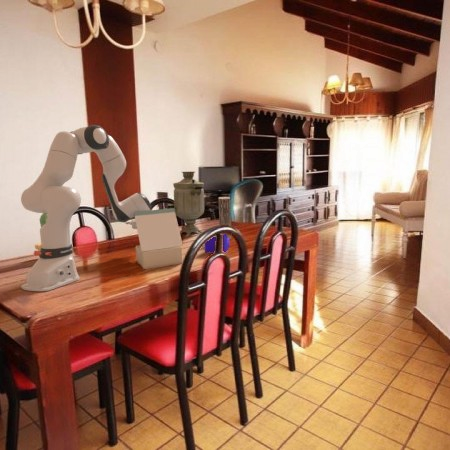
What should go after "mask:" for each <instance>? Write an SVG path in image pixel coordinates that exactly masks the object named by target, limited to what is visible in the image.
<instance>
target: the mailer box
mask: <svg viewBox="0 0 450 450" xmlns="http://www.w3.org/2000/svg"><path fill="white" fill-rule="evenodd" d="M182 247H183V246H179V247H172V248H165V249H158V250H151V251H144V252H142V251H141V246H140V244H139V245H135V255H136V256H135V257H136V262H137V264H138V265H139V264H140V265H141V266H140V265H139V266H140V267H141V268H142V269H143V270H144V269H145V270H151V269H150V268H152V269H155V268H156V269H158V268H163V267H169V266H175V265H181V264H183V251H182V249H183V248H182ZM157 267H158V268H157Z"/></svg>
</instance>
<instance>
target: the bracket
mask: <svg viewBox="0 0 450 450" xmlns="http://www.w3.org/2000/svg"><path fill="white" fill-rule="evenodd" d="M215 241H216V237H213V238H212V239H210V240H209V241H207V242H206V243H205V242H204V252H205V253H207V252H211V253H210V254H213V253H212V252H214V251H215ZM230 243H231V242H230V239H229V238H227V234H224V235H223V251H224V252H226V251H227V250H228V251H229V249H230V246H229V245H230ZM228 248H229V249H228ZM226 253H227V252H226Z"/></svg>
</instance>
